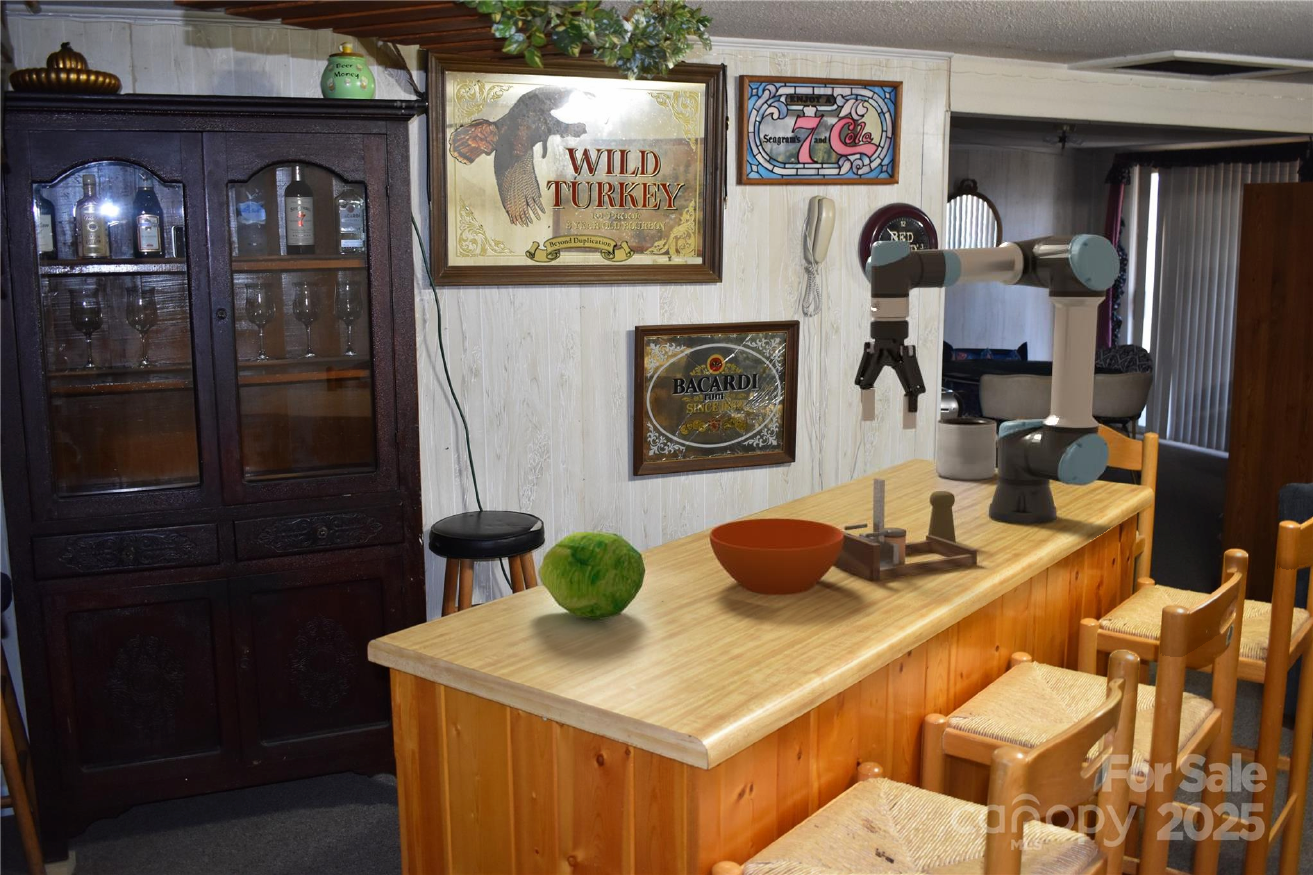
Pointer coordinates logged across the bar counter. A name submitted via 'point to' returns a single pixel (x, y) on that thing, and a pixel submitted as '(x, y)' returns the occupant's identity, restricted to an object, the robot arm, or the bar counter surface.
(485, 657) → the bar counter surface
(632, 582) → the lettuce
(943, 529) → the pepper mill
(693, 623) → the bar counter surface
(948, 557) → the lane
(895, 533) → the terracotta spice jar
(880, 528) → the pusher
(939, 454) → the planter
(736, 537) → the bowl
